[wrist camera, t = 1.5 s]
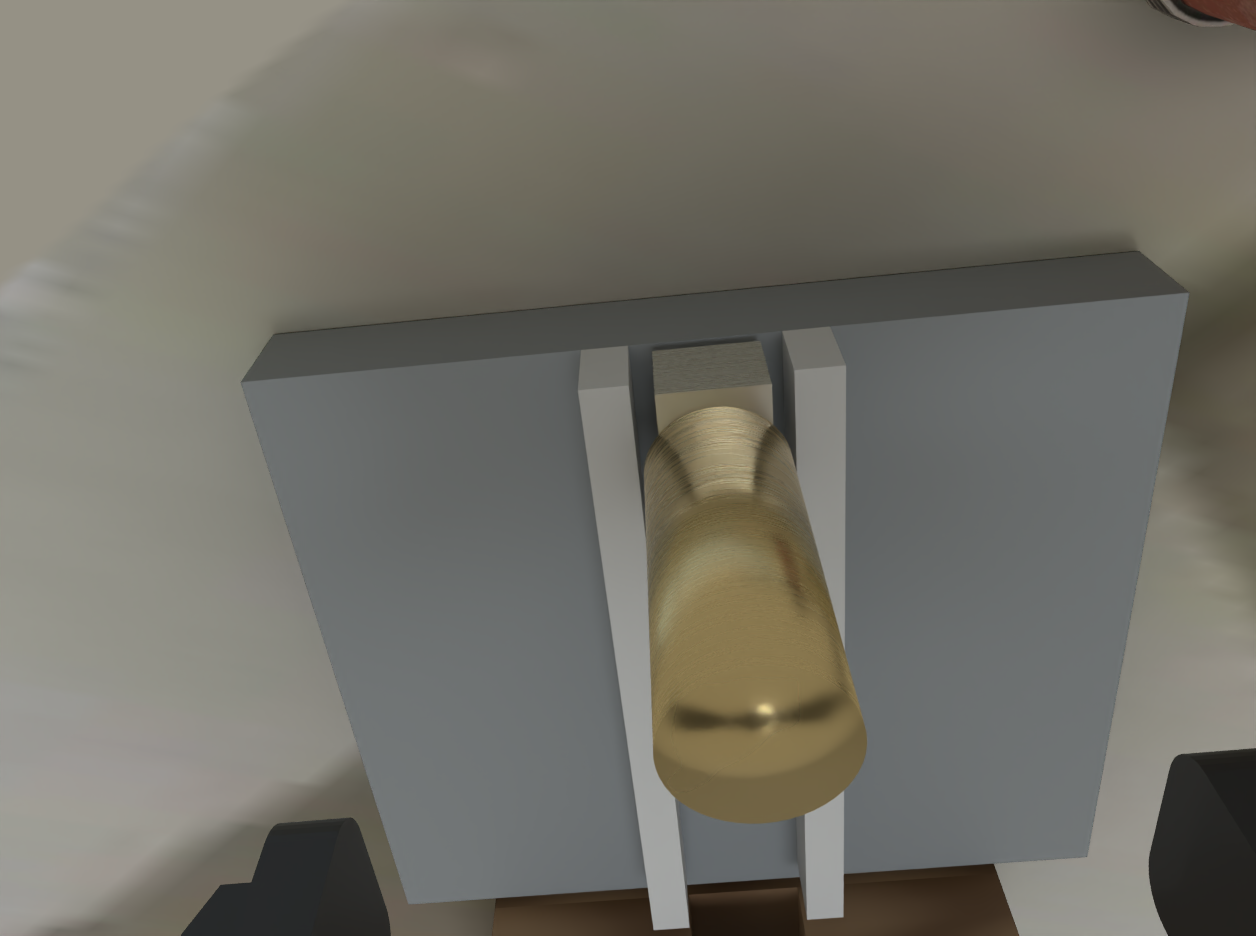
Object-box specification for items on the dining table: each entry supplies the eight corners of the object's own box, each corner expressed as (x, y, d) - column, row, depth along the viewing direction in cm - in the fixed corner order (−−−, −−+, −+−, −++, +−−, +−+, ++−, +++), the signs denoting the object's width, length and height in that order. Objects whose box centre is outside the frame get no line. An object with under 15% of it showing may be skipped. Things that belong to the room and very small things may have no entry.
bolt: (778, 338, 18) (869, 639, 11) (790, 733, 22) (859, 1108, 16) (634, 352, 18) (640, 657, 11) (676, 741, 22) (698, 1117, 16)
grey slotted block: (1138, 250, 19) (1234, 329, 16) (1057, 790, 26) (1112, 913, 23) (273, 334, 20) (212, 424, 17) (422, 836, 27) (397, 961, 24)
